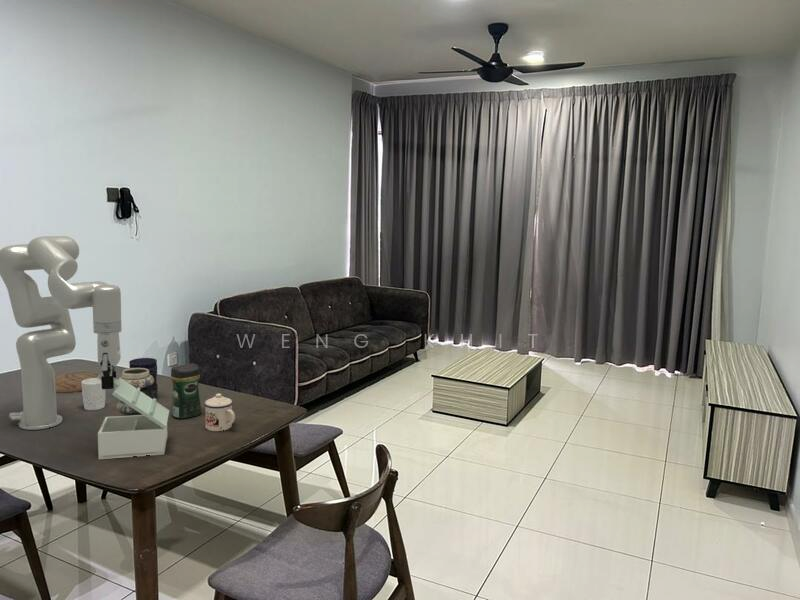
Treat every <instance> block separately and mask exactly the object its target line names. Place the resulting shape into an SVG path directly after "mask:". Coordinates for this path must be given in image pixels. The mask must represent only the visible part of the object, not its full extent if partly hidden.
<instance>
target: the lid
mask: <svg viewBox="0 0 800 600" xmlns="http://www.w3.org/2000/svg"><path fill="white" fill-rule="evenodd" d="M101 376H102V371H101V372H100V374H99V376H98V377H97V378H98V379H100V380H101ZM113 378H114V377H113ZM112 390H113V392H112V396H114V397H115V398H116V399H118V400H119V401H120V400H121V401H123V402H124V403H126V404H127V405H129V406H130V407H132V408H133V409H135V410H136V411H138V412H139V413H141V414H142V415H144V416H145V417H147V418H149V419H150V420H152V421H153V422H155V423H156V424H158V425H159V426H161V427H162V428H165V427H166V425H167V426H168V419H169V414H170V410H169V409H168V408H167V407H165V406H163V405H162V404H160V403H159V402H157V400H156V399H155V398H154V399H151V398H150V397H148V396H147V395H145V394H144V393H142V392H141V391H140V388H139V387H138V388H137V389H136V388H135V387H133V386H132V385H130V384H129V383H127V382H126V381H124V380H123V379H122V378H121V379H120V380H118V379H117V377H116V378H114V388H113V389H112Z"/></svg>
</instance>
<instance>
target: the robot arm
mask: <svg viewBox="0 0 800 600" xmlns="http://www.w3.org/2000/svg"><path fill="white" fill-rule="evenodd" d="M79 255H80V246H79V245H78V242H77V241H76V240H75V239H74V238H72V237H71V236H68V235H67V236H66V235H57V236H56V235H52V236H39V237H35V238H33V239H31V240H30V241H29V243H28V244H26V243H25V244H22V243H21V244H13V245H7V246H4V247H2V248H1V249H0V278H1V279H2V281H3V284H4V286H5V287H6V290H7V293H8V296H9V297H8V298H9V301H10V305H11V309H12V313H13V317H14V321H15V322H16V325H17V326H18V327H20V328H27V329H29V328H37V327H45V326H50V328H46V329H39V330H33V331H28V332H25V333H23V334H21V335H19V337H17V338H16V343H15V347H16V353H17V356H18V360H19V364H20V373H21V374H20V375H21V376H20V377H21V388H22V390H21V391H22V392H21V393H22V407H23V410H22V411H19V412H9V415H8V417H9V419H11V421H17V420H18V421H19V422H18V427H19V428H21V429H23V430H26V431H27V430H29V431H31V430H32V431H34V430H37V431H38V430H45V429H49V427H50V428H52V427H55V426H59V425H60V424H61V423H62V422H63V416H62V415H60V414H58V413H57V412H58V409H57V394H56V385H55V375H56V372H55V370H54V367H53V366H52V365H51V364H50V363H49V362H48V359H51V358H54V357H59V356H65V355H68V354H71V353H72V352H73V351H74V350H75V348H76V343H77V342H76V335H75V331H74V328H73V323H72V320H71V314H70V311H69V310H77V309H79V310H80V309H84V308H85V309H86V308H92V326H93V327H92V328H93V333H94V334H97V341H96V342H97V365H98V366H99V367H100V368H101V372H102V376H101V383H102V389H106V390H114V389H113V388H114V378H116V379H117V370H116V367H117V366H118V364H119V363H120V361H121V357H122V356H121V345H120V344H121V342H120V333H121V332H122V329H123V328H122V296H121V295H122V293H121V288H120V287H119V286H118V285H115V284H108V283H107V282H104V281H101V280H99V281H97V280H96V281H83V282H75V283H74V282H73V283H69V282H67V281H69V280H70V279H72V278H73V277H74V276H75V275H76V273H77V271H78V267H79V266H78V262H77V261H76V260H77V259H78V258H79ZM36 270H37V271H39V270H43V271H44V272H45V273H46V274H47V275H48V277H47V287H48V291H49V294H50V295H51V296H41V293H40V291H39V286H38V283H37V282H36V281H35V280H34V279H33V277H32V276H30V275H29V274H28V273H26V272H25V271H36ZM113 377H114V378H113Z"/></svg>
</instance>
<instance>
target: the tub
mask: <svg viewBox="0 0 800 600" xmlns="http://www.w3.org/2000/svg"><path fill="white" fill-rule="evenodd" d="M122 430H125V431H122ZM167 441H168V424H167V425H166V427H165V428H162V427H161V426H159V425H158V424H156V423H155V422H153V421H152V420H150V419H149V418H147V417H145V416H144V415H132V416H130V415H118V416H105V417H104V420H103V422H102V424H101V426H100V428H99V430H98V432H97V445H98V446H97V448H98V450H97V451H98V453H97V454H98V460H108V459H123V458H134V457H133V456H137V457H147V456H146V455H150V456H161V455H165V452H166V447H167V446H166V445H167Z"/></svg>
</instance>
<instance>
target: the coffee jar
mask: <svg viewBox="0 0 800 600" xmlns="http://www.w3.org/2000/svg"><path fill="white" fill-rule="evenodd" d="M170 372H171V373H170V380H171V381H172V401H171V402H172V403H171V416H172V417H173V418H175V419H181V420H182V419H188V418H193V417H196V416H199V415H200V414H201V413H202V406H201V399H200V392H199V390H200V389H199V380H200V377H201V372H200V367H199V365H198V364H196V363H193V362H192V363H186V364H182V365H181V364H180V365H175V366H172V367H171V369H170Z"/></svg>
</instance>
